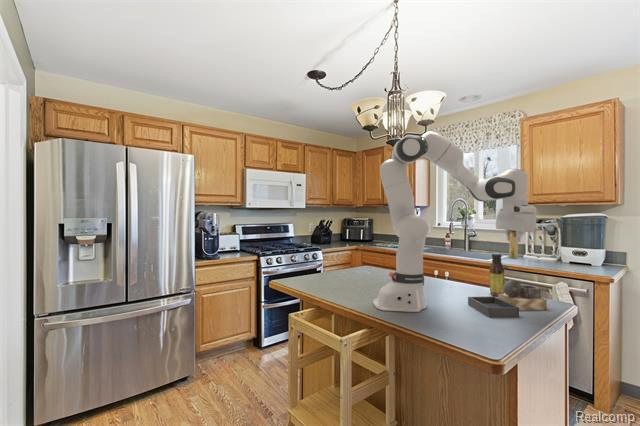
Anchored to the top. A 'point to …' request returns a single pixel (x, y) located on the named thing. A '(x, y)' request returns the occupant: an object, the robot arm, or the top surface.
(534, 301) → the block
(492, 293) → the sauce bottle
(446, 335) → the top surface
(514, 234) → the pin
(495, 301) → the tray
